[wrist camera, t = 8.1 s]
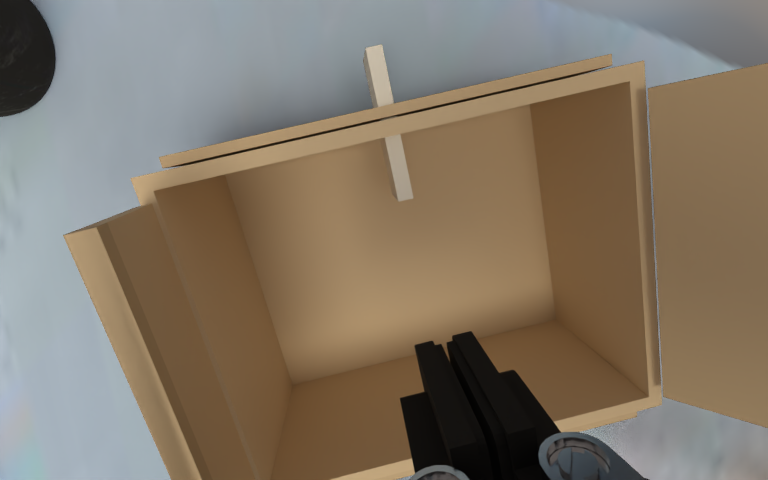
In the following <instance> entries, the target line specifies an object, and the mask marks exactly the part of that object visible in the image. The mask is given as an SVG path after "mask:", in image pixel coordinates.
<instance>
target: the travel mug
mask: <svg viewBox="0 0 768 480" xmlns="http://www.w3.org/2000/svg"><path fill="white" fill-rule="evenodd" d="M54 68H55V52H54V46H53V41H52V38H51V35H50V32H49V30H48V27H47V25H46V23H45V21H44V19H43V18H42V16H41V15H40V13H39V12H38V10H37V9H36V8H35V6H34V5H33V4H32V3H31V2H30V1H29V0H0V117H3V116H9V115H13V114H16V113H20V112H22V111H24V110H26V109H28V108H30V107H31V106H33V105H34V104H36V103H37V102H38V101H39V100H40V99H41V98H42V97H43V95H44V94H45V93H46V91H47V89H48V87H49V86H50V83H51V80H52V78H53V73H54Z"/></svg>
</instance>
